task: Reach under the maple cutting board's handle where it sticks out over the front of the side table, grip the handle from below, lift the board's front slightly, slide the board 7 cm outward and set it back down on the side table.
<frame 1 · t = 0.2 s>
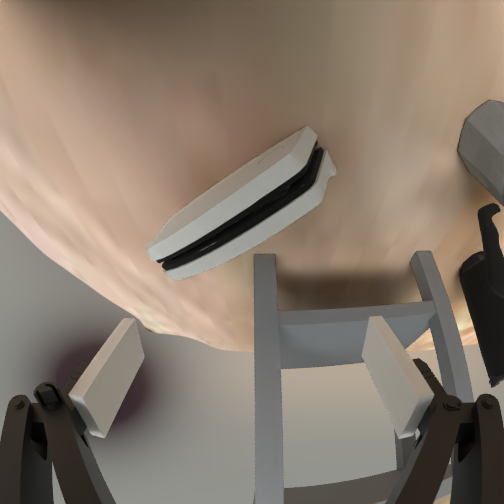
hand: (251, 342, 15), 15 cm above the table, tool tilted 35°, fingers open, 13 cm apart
hinge: (237, 180, 26), on the table
side table: (337, 290, 40), on the table
coffeepot: (481, 139, 20), on the table
portable speaker: (476, 262, 36), on the table
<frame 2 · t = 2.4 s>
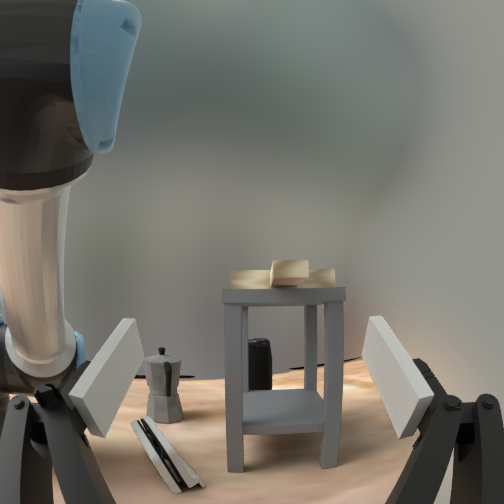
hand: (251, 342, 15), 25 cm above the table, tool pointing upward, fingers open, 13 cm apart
hinge: (163, 469, 35), on the table
cutting board: (279, 294, 53), point 30 cm above the table, touching side table
side table: (279, 443, 47), on the table
coffeepot: (166, 419, 58), on the table
portable speaker: (255, 408, 71), on the table
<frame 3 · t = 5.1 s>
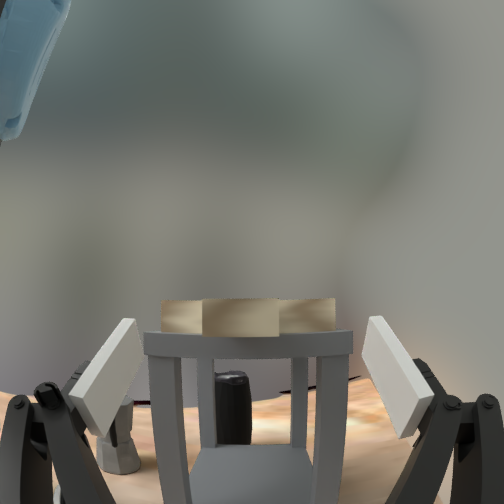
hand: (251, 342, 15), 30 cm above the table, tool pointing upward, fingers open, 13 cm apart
cutting board: (250, 329, 35), point 30 cm above the table, touching side table
coffeepot: (119, 467, 39), on the table
portable speaker: (231, 454, 52), on the table
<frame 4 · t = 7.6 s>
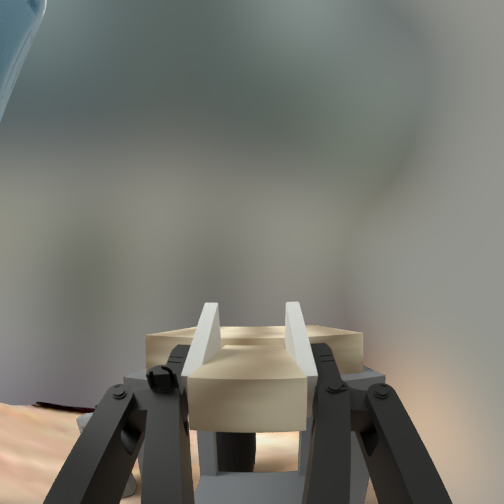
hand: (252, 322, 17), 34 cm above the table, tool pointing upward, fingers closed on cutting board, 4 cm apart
cutting board: (255, 358, 29), point 30 cm above the table, touching gripper, side table
coffeepot: (114, 490, 34), on the table
portable speaker: (234, 475, 46), on the table
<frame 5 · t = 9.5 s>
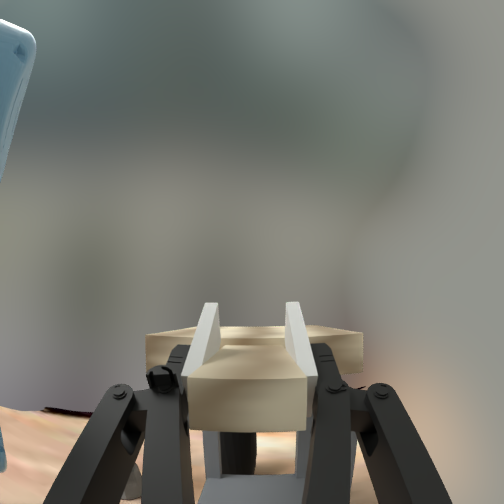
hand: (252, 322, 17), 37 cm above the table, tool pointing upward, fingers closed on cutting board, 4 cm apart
cutting board: (255, 358, 29), point 33 cm above the table, touching gripper
coffeepot: (125, 492, 37), on the table
portable speaker: (236, 477, 49), on the table
when the fingers open (35 cm above the table, at t = 11.4 s): cutting board stays where it is, resting on side table.
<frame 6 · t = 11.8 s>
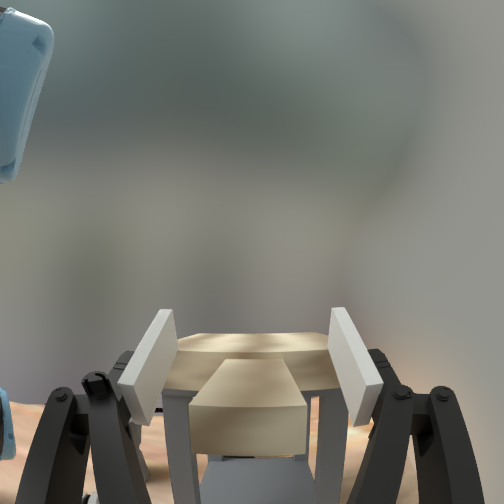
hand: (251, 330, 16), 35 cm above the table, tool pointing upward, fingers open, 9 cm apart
cutting board: (256, 367, 29), point 30 cm above the table, touching side table
coffeepot: (129, 478, 40), on the table
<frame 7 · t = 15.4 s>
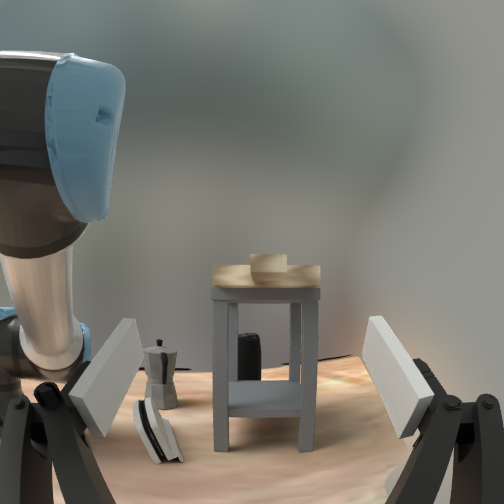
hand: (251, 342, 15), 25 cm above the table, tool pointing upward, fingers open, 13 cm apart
hinge: (156, 444, 43), on the table
cutting board: (265, 290, 52), point 30 cm above the table, touching side table
side table: (263, 429, 53), on the table
coffeepot: (162, 406, 65), on the table
portable speaker: (245, 398, 77), on the table
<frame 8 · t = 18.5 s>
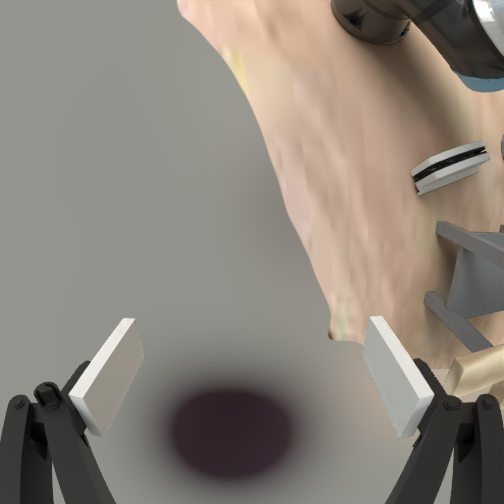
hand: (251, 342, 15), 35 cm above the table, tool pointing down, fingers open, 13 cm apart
hinge: (442, 164, 45), on the table
side table: (470, 261, 50), on the table
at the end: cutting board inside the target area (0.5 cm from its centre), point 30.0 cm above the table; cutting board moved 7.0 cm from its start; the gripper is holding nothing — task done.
